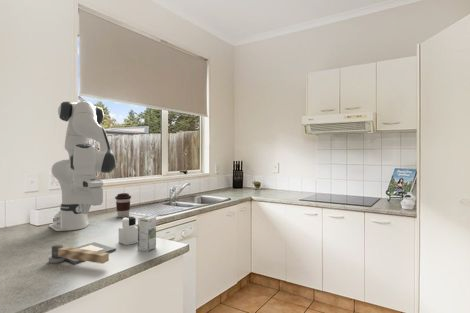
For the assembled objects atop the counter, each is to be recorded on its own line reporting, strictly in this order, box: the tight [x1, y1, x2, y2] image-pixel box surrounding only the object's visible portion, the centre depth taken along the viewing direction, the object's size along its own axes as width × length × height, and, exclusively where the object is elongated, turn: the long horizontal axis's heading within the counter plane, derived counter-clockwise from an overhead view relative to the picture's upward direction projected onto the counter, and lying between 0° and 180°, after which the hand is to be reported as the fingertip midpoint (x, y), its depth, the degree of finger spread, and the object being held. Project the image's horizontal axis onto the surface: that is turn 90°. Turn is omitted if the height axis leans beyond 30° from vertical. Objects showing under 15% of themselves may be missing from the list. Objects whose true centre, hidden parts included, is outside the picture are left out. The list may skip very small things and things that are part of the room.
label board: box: [48, 241, 117, 265], centre depth 124 cm, size 16×23×2 cm
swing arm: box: [51, 243, 110, 265], centre depth 114 cm, size 26×4×4 cm, turn 71°
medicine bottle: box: [118, 216, 138, 246], centre depth 141 cm, size 7×7×12 cm
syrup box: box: [137, 215, 157, 252], centre depth 132 cm, size 6×6×14 cm
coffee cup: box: [114, 192, 132, 218], centre depth 197 cm, size 10×10×15 cm
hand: (85, 213), depth 126 cm, fingers closed
